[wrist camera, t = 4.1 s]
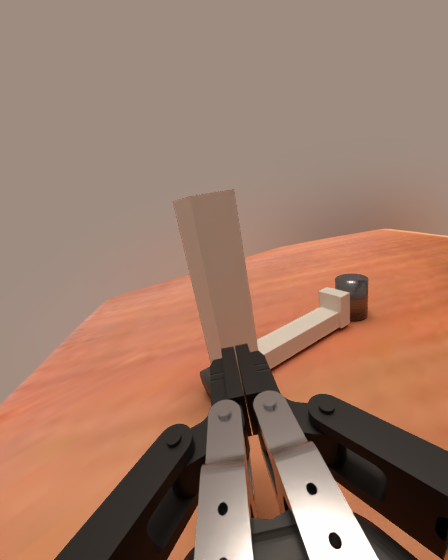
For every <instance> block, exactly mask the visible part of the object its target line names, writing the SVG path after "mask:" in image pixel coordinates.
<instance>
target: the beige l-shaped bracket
mask: <svg viewBox="0 0 448 560" xmlns="http://www.w3.org/2000/svg"><path fill="white" fill-rule="evenodd" d="M173 205H174V209H175V213H176V217H177V222H178V226H179V230H180V235H181V238H182V243H183V247H184V252H185V256H186V260H187V264H188V269H189V273H190V277H191V282H192V286H193V290H194V294H195V299H196V303H197V307H198V312H199V316H200V320H201V324H202V329H203V333H204V337H205V342H206V346H207V350H208V354H209V359H210V363H211V364H212V362H213V360H215V359H220V358H222V353H221V349H222V348H227V347H232V346H234V350H235V346H236V345H241V344H246V343H247V344H248V347H249V350H250V352H254V351H258V350H259V351H260V352H261V353H262V354H263V355H265V358H266V360H267V363H268V365H269V368H270V369H271V368H273V367H275V366H276V365H278V364H280V363H281V362H283V361H285V360H286V359H288V358H290V357H291V356H293V355H294V354H296V353H298V352H299V351H301V350H303V349H304V348H306V347H308V346H309V345H311V344H313V343H314V342H316V341H318V340H319V339H321V338H322V337H324V336H326V335H327V334H329V333H331V332H332V331H334V330H336V329H337V328H343V327H344V326H346V325H348V324H349V323H350V293H349V292H345V291H341V290H337V289H333V288H329V287H326V288H324V289H322V290H320V291H319V308H317V309H315V310H313V311H311V312H310V313H308V314H306V315H304V316H302V317H300V318H298V319H296V320H294V321H292V322H290V323H288V324H286V325H285V326H283V327H281V328H279V329H277V330H275V331H273V332H271V333H269V334H267V335H265V336H263V337H262V338H260V339H258V340H257V338H256V331H255V324H254V318H253V311H252V304H251V298H250V291H249V285H248V278H247V271H246V265H245V258H244V252H243V245H242V239H241V232H240V225H239V219H238V212H237V205H236V199H235V192H234V189H232V190H226V191H220V192H214V193H209V194H202V195H196V196H189V197H186V198H183V199H179V200H176V201H173ZM235 355H236V351H235ZM236 360H237V356H236ZM237 364H238V361H237ZM238 369H239V366H238ZM239 373H240V371H239ZM200 377H201V380H202V383H203V385H204V387H205V389H206V391H207V393H208V394H209V396H210V397H211V381H210V367H208V368H206V369H204V370H202V371H200ZM240 378H241V376H240ZM241 383H242V381H241ZM242 387H243V386H242ZM243 391H244V390H243Z"/></svg>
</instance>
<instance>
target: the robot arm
mask: <svg viewBox="0 0 448 560" xmlns="http://www.w3.org/2000/svg"><path fill="white" fill-rule="evenodd" d="M235 351H236V355H235ZM221 353H222V358H220V359H215V360H213V362H212V364H211V366H210V381H211V404H212V406H211V409H210V411H209V414H208V416H207V418H206V419H205V420H204V421H202V422H201V423H199V424H198V425H196V426H194V427H192V428H189V427H188V426H187V425H184V424H175V425H172V426H170V427H168V428H167V429H166V430H165V431H164V432H163V433H162V434H161V435H160V436H159V437H158V438H157V440H156V441H155V442H154V443H153V444H152V445H151V447H150V448H149V449H148V450H147V451H146V452H145V454H144V455H143V456H142V457H141V458H140V460H139V461H138V462H137V463H136V464H135V465H134V467H133V468H132V469H131V470H130V471H129V472H128V474H127V475H126V476H125V477H124V478H123V479H122V481H121V482H120V483H119V484H118V485H117V486H116V488H115V489H114V490H113V491H112V492H111V494H110V495H109V496H108V497H107V498H106V499H105V501H104V502H103V503H102V504H101V505H100V506H99V508H98V509H97V510H96V511H95V512H94V513H93V515H92V516H91V517H90V518H89V519H88V520H87V522H86V523H85V524H84V525H83V526H82V528H81V529H80V530H79V531H78V532H77V533H76V535H75V536H74V537H73V538H72V539H71V540H70V542H69V543H68V544H67V545H66V546H65V547H64V549H63V550H62V551H61V552H60V553H59V554H58V556H57V557H56V558H55V559H54V560H167V559H168V557H169V555H170V553H171V551H172V550H173V548H174V546H175V544H176V543H177V541H178V539H179V537H180V535H181V534H182V532H183V530H184V528H185V527H186V525H187V523H188V521H189V520H190V518H191V516H192V514H193V512H194V511H195V509H196V507H197V505H198V512H197V526H196V539H195V547H194V548H193V549H192V550H191V551H190V552H189V553H188V555H187V556H186V557H185V559H184V560H418V559H417V558H415V557H414V556H413V555H412V554H411V553H409V552H408V551H407V550H406V549H404V548H403V547H402V546H401V545H400V544H398V543H397V542H396V541H395V540H393V539H392V538H391V537H390V536H389V535H387V534H386V533H385V532H384V531H382V530H381V529H380V528H379V527H377V526H376V525H375V524H373V523H372V522H370V521H369V520H367V519H366V518H364V517H362V516H360V515H358V514H357V513H354V512H352V511H351V509H350V507H349V505H348V503H347V501H346V500H345V498H344V496H343V494H342V492H341V491H340V489H339V487H338V485H337V483H336V482H335V481H337V482H338V483H339V484H341V485H342V486H343V487H345V488H346V489H347V490H349V491H350V492H351V493H353V494H354V495H356V496H357V497H358V498H360V499H361V500H362V501H364V502H365V503H366V504H368V505H369V506H370V507H372V508H373V509H375V510H376V511H377V512H379V513H380V514H381V515H383V516H384V517H385V518H387V519H388V520H389V521H391V522H392V523H393V524H395V525H396V526H398V527H399V528H400V529H402V530H403V531H404V532H406V533H407V534H408V535H410V536H411V537H412V538H414V539H415V540H417V541H418V542H419V543H421V544H422V545H423V546H425V547H426V548H427V549H429V550H430V551H431V552H433V553H434V554H436V555H437V556H438V557H440V558H441V559H442V560H448V451H446V450H444V449H442V448H440V447H438V446H436V445H434V444H431V443H429V442H427V441H425V440H423V439H421V438H419V437H417V436H415V435H413V434H411V433H409V432H406V431H404V430H402V429H400V428H398V427H396V426H394V425H392V424H390V423H388V422H386V421H384V420H382V419H379V418H377V417H375V416H373V415H371V414H369V413H367V412H365V411H363V410H361V409H359V408H357V407H355V406H352V405H350V404H348V403H346V402H344V401H342V400H340V399H338V398H336V397H334V396H331V395H328V394H318V395H315V396H313V397H312V398H311V399H310V400H309V402H308V403H299V402H293V401H290V400H288V399H286V398H285V397H284V396H283V395H281V393H280V392H279V389H278V387H277V385H276V382H275V380H274V377H273V375H272V372H271V370H270V368H269V365H268V363H267V360H266V358H265V355H263V354H262V353H261V352H260V351H259V350H258V351H254V352H250V350H249V347H248V344H247V343H246V344H241V345H236V346H235V350H234V346H232V347H227V348H222V349H221ZM236 356H237V360H236ZM237 361H238V364H237ZM238 366H239V369H238ZM239 371H240V373H239ZM240 376H241V378H240ZM241 381H242V383H241ZM242 386H243V387H242ZM243 390H244V392H243ZM244 395H245V396H244ZM245 399H246V402H245ZM246 404H247V407H246ZM247 408H248V412H247ZM248 413H249V417H250V422H251V426H252V431H253V435H257V434H258V436H259V441H260V445H261V451H262V455H263V458H264V461H265V464H266V467H267V471H268V474H269V477H270V480H271V483H272V486H273V490H274V493H275V496H276V499H277V503H278V506H279V510H280V515H279V516H277V517H276V518H274V519H271V520H267V519H258V517H257V511H256V503H255V494H254V486H253V477H252V468H251V460H250V445H249V440H248V436H252V433H251V428H250V423H249V417H248Z"/></svg>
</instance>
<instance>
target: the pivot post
mask: <svg viewBox="0 0 448 560" xmlns="http://www.w3.org/2000/svg"><path fill="white" fill-rule="evenodd" d="M335 289H337V290H341V291H345V292H349V293H350V321H361V320H364V319H366V318H367V311H368V277H366V276H364V275H360V274H344V275H340V276H337V277H336V278H335Z"/></svg>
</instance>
